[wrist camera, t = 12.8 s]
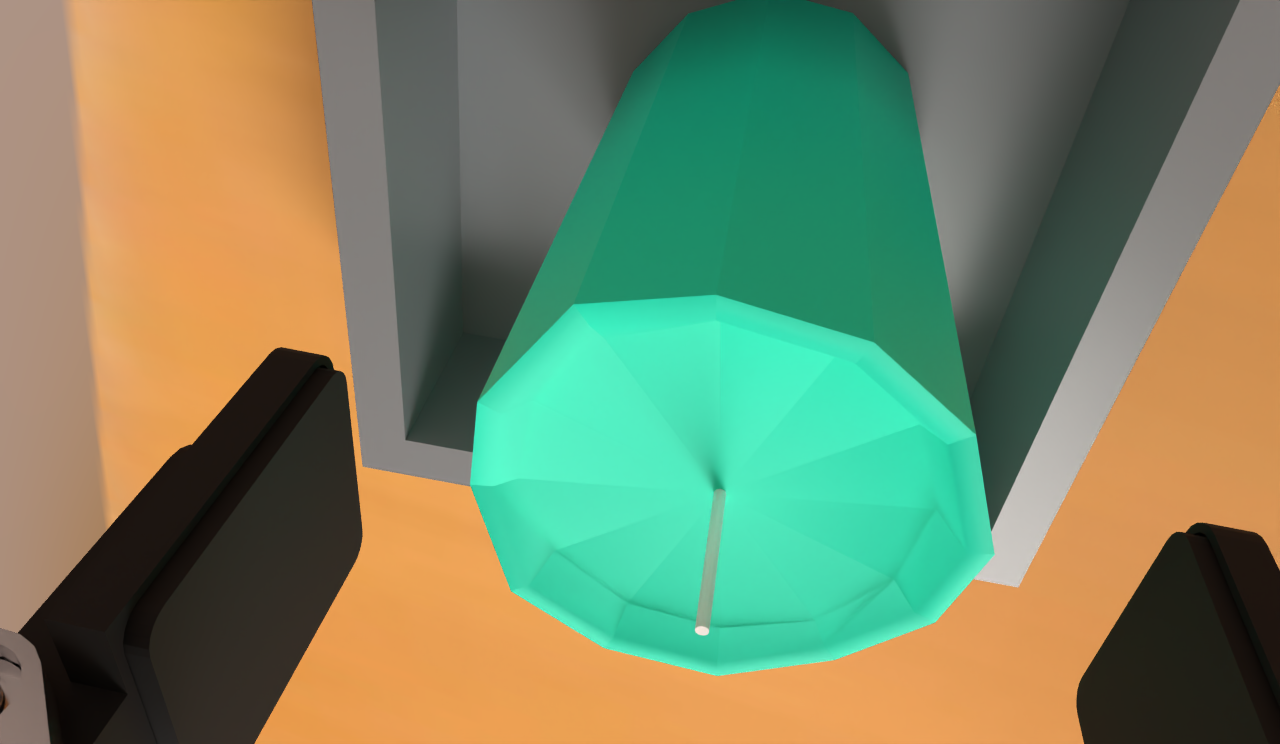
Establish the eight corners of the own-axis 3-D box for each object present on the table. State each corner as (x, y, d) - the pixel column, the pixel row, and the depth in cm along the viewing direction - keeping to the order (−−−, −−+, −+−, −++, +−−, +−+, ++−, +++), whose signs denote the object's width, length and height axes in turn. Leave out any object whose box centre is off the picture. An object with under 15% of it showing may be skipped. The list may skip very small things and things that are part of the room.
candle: (941, -11, 17) (1085, 417, 7) (902, 282, 20) (966, 825, 11) (607, -9, 18) (354, 375, 8) (626, 271, 21) (463, 764, 12)
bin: (986, 431, 24) (1018, 586, 20) (437, 335, 25) (362, 466, 21) (1267, -232, 15) (1422, -191, 11) (410, -341, 16) (275, -339, 12)
